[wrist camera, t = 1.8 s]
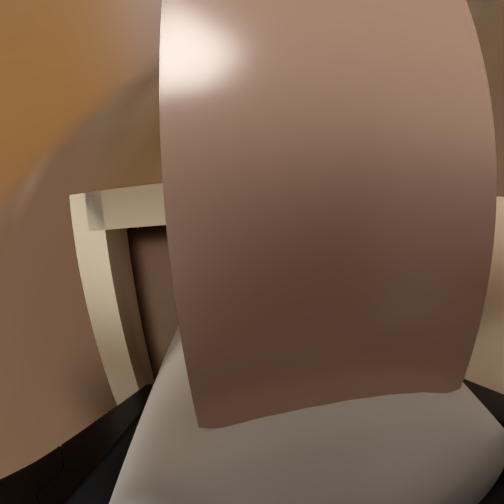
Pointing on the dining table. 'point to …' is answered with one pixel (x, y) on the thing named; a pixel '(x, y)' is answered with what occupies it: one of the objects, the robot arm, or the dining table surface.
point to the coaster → (491, 319)
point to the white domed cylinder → (321, 256)
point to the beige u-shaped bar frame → (115, 277)
